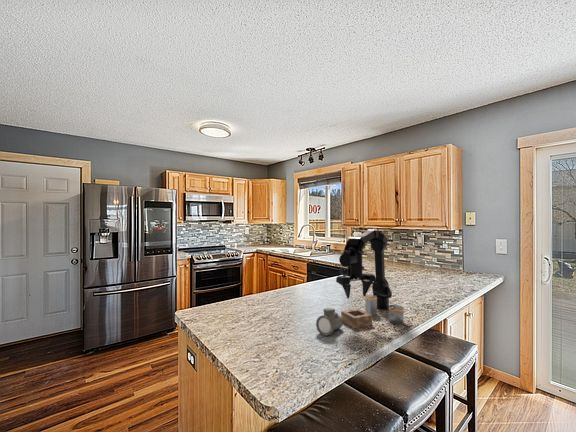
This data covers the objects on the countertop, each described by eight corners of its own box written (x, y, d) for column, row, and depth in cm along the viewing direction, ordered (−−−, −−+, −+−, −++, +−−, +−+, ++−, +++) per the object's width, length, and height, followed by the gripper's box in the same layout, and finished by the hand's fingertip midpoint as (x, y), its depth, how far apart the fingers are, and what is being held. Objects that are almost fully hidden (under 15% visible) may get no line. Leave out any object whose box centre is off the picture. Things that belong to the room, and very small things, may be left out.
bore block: (358, 317, 136) (358, 308, 136) (372, 324, 127) (372, 315, 127) (341, 320, 132) (341, 311, 132) (354, 328, 123) (354, 318, 123)
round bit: (396, 318, 135) (396, 304, 135) (407, 323, 129) (406, 308, 129) (385, 320, 132) (385, 305, 132) (396, 325, 126) (395, 310, 126)
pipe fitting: (331, 337, 112) (331, 311, 114) (315, 334, 118) (315, 309, 119) (346, 332, 121) (346, 308, 123) (331, 329, 126) (330, 305, 128)
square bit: (371, 311, 145) (371, 294, 145) (377, 314, 141) (376, 296, 141) (365, 312, 143) (365, 295, 144) (370, 315, 140) (370, 297, 140)
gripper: (361, 260, 141) (361, 290, 141) (329, 262, 133) (329, 295, 133) (376, 263, 131) (376, 296, 131) (343, 266, 123) (343, 301, 123)
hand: (356, 297), depth 130 cm, fingers open, 9 cm apart
